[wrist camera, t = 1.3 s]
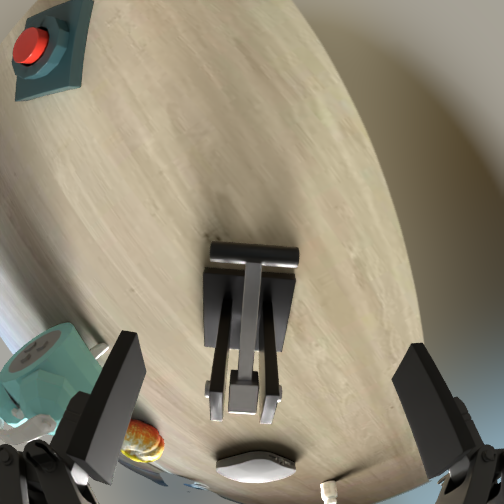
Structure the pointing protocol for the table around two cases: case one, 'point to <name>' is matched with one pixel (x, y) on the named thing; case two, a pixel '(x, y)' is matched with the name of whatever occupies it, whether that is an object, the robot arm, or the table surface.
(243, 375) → the lever
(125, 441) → the fruit
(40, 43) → the button
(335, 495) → the pill bottle
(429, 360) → the robot arm
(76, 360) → the alarm clock
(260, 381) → the bracket
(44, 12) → the button box
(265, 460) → the media streaming box
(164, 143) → the table surface
